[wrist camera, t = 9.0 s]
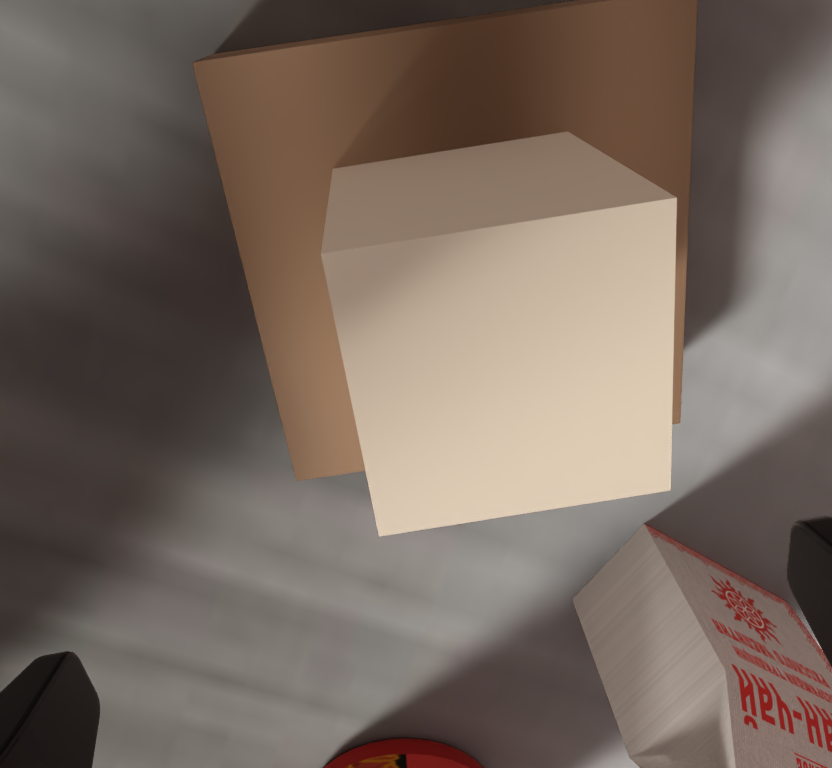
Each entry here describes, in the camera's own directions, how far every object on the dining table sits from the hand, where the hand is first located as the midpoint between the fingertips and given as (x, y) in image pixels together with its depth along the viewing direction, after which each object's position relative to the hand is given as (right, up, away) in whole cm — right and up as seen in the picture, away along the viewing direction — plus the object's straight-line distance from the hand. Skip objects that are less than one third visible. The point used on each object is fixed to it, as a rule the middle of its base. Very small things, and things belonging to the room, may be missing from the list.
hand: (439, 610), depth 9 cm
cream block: (+1, +6, +8) cm, 9 cm away
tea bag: (+9, -4, +16) cm, 19 cm away
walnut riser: (+1, +7, +10) cm, 12 cm away
